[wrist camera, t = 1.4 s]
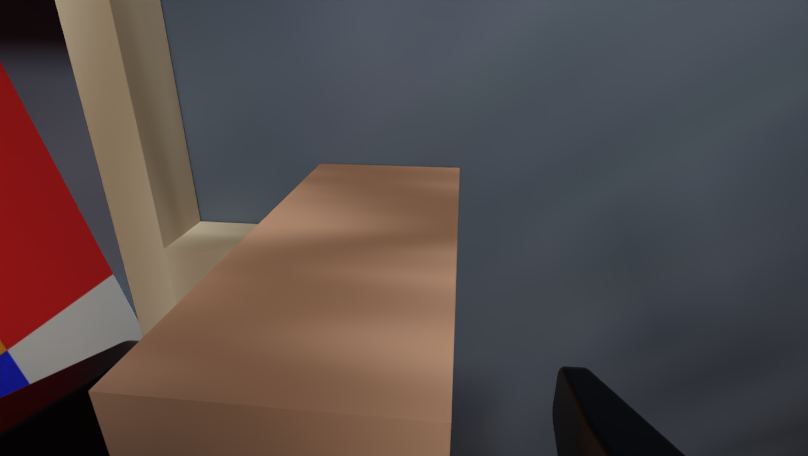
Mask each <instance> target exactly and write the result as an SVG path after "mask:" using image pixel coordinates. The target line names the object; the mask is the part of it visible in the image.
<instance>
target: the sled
mask: <svg viewBox="0 0 808 456" xmlns="http://www.w3.org/2000/svg"><path fill="white" fill-rule="evenodd" d="M55 3H56V7H57V11H58V15H59V18H60V22H61V26H62V30H63V34H64V37H65V41H66V45H67V49H68V53H69V57H70V60H71V64H72V68H73V72H74V76H75V80H76V83H77V87H78V91H79V95H80V99H81V103H82V106H83V110H84V114H85V118H86V122H87V125H88V129H89V133H90V137H91V141H92V145H93V148H94V152H95V156H96V160H97V164H98V168H99V171H100V175H101V179H102V183H103V187H104V191H105V194H106V198H107V202H108V206H109V210H110V214H111V217H112V221H113V225H114V229H115V233H116V236H117V240H118V244H119V248H120V252H121V256H122V259H123V263H124V267H125V271H126V275H127V279H128V282H129V286H130V290H131V294H132V298H133V302H134V305H135V309H136V313H137V317H138V321H139V324H140V328H141V332H142V336H143V338H142V339H141V340H140V341H139V342H138V343H137V344H136V345H135V346H134V347H133V348H132V349H131V350H130V351H129V352H128V353H127V354H126V355H125V356H124V357H123V358H122V359H121V360H120V361H119V362H118V363H117V364H116V365H114V366H113V367H112V368H111V369H110V370H109V371H108V372H107V373H106V374H105V375H104V376H103V377H102V378H101V379H100V380H99V381H98V382H97V383H96V384H95V385H94V386H93V387H92V388H91V389H90V390H89V391H88V392H89V395H90V398H91V401H92V404H93V407H94V410H95V413H96V416H97V419H98V422H99V425H100V428H101V431H102V434H103V437H104V440H105V443H106V446H107V449H108V452H109V455H110V456H450V438H451V416H452V386H453V355H454V325H455V294H456V264H457V233H458V203H459V172H460V168H445V167H413V166H382V165H350V164H319V165H318V166H317V167H316V168H315V169H314V170H313V171H312V172H311V173H310V174H309V175H308V176H307V177H306V178H305V179H304V180H303V181H302V182H301V183H300V184H299V185H298V186H297V187H296V188H295V189H294V190H293V191H292V192H291V193H290V194H289V195H288V196H287V197H286V198H285V199H284V200H283V201H282V202H281V203H280V204H279V205H278V206H277V207H276V208H274V209H273V210H272V211H271V212H270V213H269V214H268V215H267V216H266V217H265V218H264V219H263V220H262V221H261V222H260V223H259V224H244V223H223V222H201V221H200V215H199V210H198V205H197V199H196V194H195V188H194V183H193V177H192V172H191V166H190V161H189V155H188V150H187V144H186V139H185V133H184V128H183V122H182V117H181V111H180V106H179V100H178V95H177V89H176V84H175V79H174V73H173V68H172V62H171V57H170V51H169V46H168V40H167V35H166V29H165V24H164V18H163V13H162V7H161V2H160V0H55Z"/></svg>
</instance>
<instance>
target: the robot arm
mask: <svg viewBox="0 0 808 456" xmlns="http://www.w3.org/2000/svg"><path fill="white" fill-rule="evenodd" d="M138 342H139V341H135V340H128V341H124V342H121V343H119V344H117V345H115V346H113V347H110V348H108V349H106V350H104V351H102V352H100V353H97V354H95V355H93V356H91V357H89V358H86V359H84V360H82V361H80V362H78V363H75V364H73V365H71V366H69V367H67V368H64V369H62V370H60V371H58V372H56V373H53V374H51V375H49V376H47V377H45V378H42V379H40V380H38V381H36V382H34V383H31V384H29V385H27V386H25V387H23V388H20V389H18V390H16V391H14V392H12V393H9V394H7V395H5V396H3V397H1V398H0V456H110V455H109V452H108V449H107V446H106V443H105V440H104V437H103V434H102V431H101V428H100V425H99V422H98V419H97V416H96V413H95V410H94V407H93V404H92V401H91V398H90V395H89V392H88V391H89V390H90V389H91V388H92V387H93V386H94V385H95V384H96V383H97V382H98V381H99V380H100V379H101V378H102V377H103V376H104V375H105V374H106V373H107V372H108V371H109V370H110V369H111V368H112V367H113V366H114V365H116V364H117V363H118V362H119V361H120V360H121V359H122V358H123V357H124V356H125V355H126V354H127V353H128V352H129V351H130V350H131V349H132V348H133V347H134V346H135V345H136V344H137V343H138ZM553 425H554V432H555V439H556V446H557V453H558V456H685V455H684V454H683V453H682V452H681V451H679V450H678V449H677V448H676V447H675V446H674V445H673V444H672V443H670V442H669V441H668V440H667V439H666V438H665V437H664V436H663V435H662V434H660V433H659V432H658V431H657V430H656V429H655V428H654V427H653V426H651V425H650V424H649V423H648V422H647V421H646V420H645V419H644V418H642V417H641V416H640V415H639V414H638V413H637V412H636V411H635V410H634V409H632V408H631V407H630V406H629V405H628V404H627V403H626V402H625V401H623V400H622V399H621V398H620V397H619V396H618V395H617V394H616V393H614V392H613V391H612V390H611V389H610V388H609V387H608V386H607V385H605V384H604V383H603V382H602V381H601V380H600V379H599V378H598V377H597V376H595V375H594V374H593V373H592V372H591V371H590V370H588V369H586V368H582V367H565V366H564V367H562V368H560V370H559V372H558V376H557V382H556V389H555V395H554V402H553Z"/></svg>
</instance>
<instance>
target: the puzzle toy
mask: <svg viewBox="0 0 808 456" xmlns="http://www.w3.org/2000/svg"><path fill="white" fill-rule="evenodd" d="M142 338H143V336H142V332H141V328H140V324H139V322H138V320H137V318H136V316H135V314H134V312H133V311H132V309H131V307H130V305H129V303H128V301H127V299H126V297H125V295H124V294H123V292H122V290H121V288H120V286H119V284H118V282H117V280H116V279H115V277H114V275H113V273H112V271H111V269H110V267H109V265H108V263H107V262H106V260H105V258H104V256H103V254H102V252H101V250H100V248H99V247H98V245H97V243H96V241H95V239H94V237H93V235H92V233H91V231H90V230H89V228H88V226H87V224H86V222H85V220H84V218H83V216H82V214H81V213H80V211H79V209H78V207H77V205H76V203H75V201H74V199H73V198H72V196H71V194H70V192H69V190H68V188H67V186H66V184H65V182H64V181H63V179H62V177H61V175H60V173H59V171H58V169H57V167H56V166H55V164H54V162H53V160H52V158H51V156H50V154H49V152H48V150H47V149H46V147H45V145H44V143H43V141H42V139H41V137H40V135H39V134H38V132H37V130H36V128H35V126H34V124H33V122H32V120H31V118H30V117H29V115H28V113H27V111H26V109H25V107H24V105H23V103H22V101H21V100H20V98H19V96H18V94H17V92H16V90H15V88H14V86H13V85H12V83H11V81H10V79H9V77H8V75H7V73H6V71H5V69H4V68H3V66H2V64H1V62H0V398H1V397H3V396H5V395H7V394H9V393H12V392H14V391H16V390H18V389H20V388H23V387H25V386H27V385H29V384H31V383H34V382H36V381H38V380H40V379H42V378H45V377H47V376H49V375H51V374H53V373H56V372H58V371H60V370H62V369H64V368H67V367H69V366H71V365H73V364H75V363H78V362H80V361H82V360H84V359H86V358H89V357H91V356H93V355H95V354H97V353H100V352H102V351H104V350H106V349H108V348H110V347H113V346H115V345H117V344H119V343H121V342H124V341H128V340H135V341H140V340H141V339H142Z"/></svg>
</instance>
